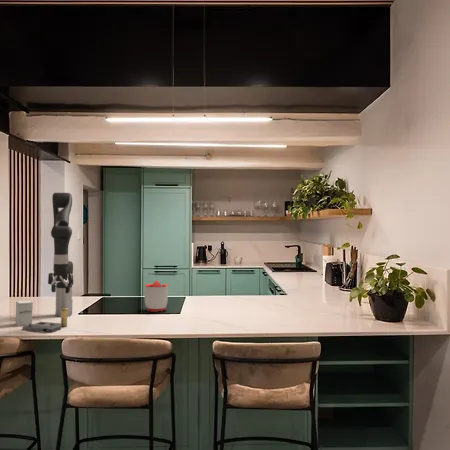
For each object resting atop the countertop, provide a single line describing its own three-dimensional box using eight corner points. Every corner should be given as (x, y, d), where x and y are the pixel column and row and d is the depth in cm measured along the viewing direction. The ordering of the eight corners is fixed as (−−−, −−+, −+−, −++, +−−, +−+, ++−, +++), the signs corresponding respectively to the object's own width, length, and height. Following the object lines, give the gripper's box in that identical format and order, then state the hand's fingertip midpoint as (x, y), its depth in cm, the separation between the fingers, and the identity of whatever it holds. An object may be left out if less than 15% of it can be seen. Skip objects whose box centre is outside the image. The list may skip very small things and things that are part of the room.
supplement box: (17, 326, 227) (18, 303, 227) (15, 323, 233) (15, 301, 233) (32, 324, 231) (33, 302, 231) (29, 322, 237) (30, 300, 237)
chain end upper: (40, 327, 226) (40, 320, 226) (60, 329, 222) (61, 322, 222) (31, 330, 219) (31, 323, 219) (52, 332, 215) (52, 325, 216)
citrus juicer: (170, 308, 285) (171, 279, 285) (164, 313, 268) (165, 282, 268) (148, 307, 287) (149, 278, 287) (140, 312, 269) (141, 281, 270)
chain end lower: (31, 326, 227) (32, 322, 227) (52, 328, 224) (52, 324, 224) (22, 329, 220) (22, 325, 220) (43, 331, 217) (43, 327, 217)
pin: (63, 325, 230) (63, 307, 230) (68, 326, 230) (69, 308, 230) (58, 327, 227) (59, 308, 227) (64, 327, 226) (65, 309, 226)
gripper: (76, 262, 229) (76, 292, 229) (54, 261, 233) (53, 290, 233) (68, 263, 222) (67, 294, 222) (45, 262, 226) (44, 292, 226)
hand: (60, 292), depth 227 cm, fingers open, 8 cm apart
